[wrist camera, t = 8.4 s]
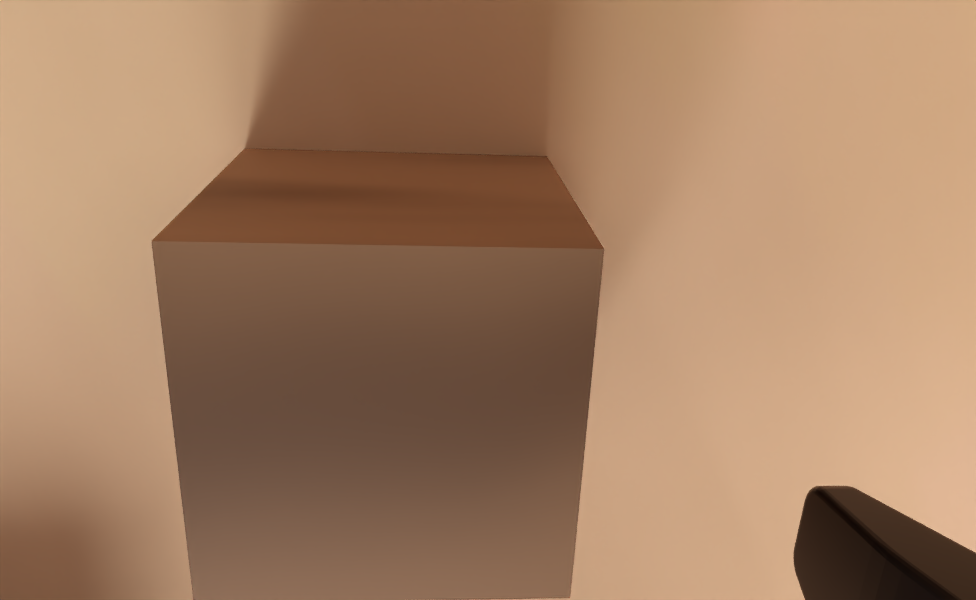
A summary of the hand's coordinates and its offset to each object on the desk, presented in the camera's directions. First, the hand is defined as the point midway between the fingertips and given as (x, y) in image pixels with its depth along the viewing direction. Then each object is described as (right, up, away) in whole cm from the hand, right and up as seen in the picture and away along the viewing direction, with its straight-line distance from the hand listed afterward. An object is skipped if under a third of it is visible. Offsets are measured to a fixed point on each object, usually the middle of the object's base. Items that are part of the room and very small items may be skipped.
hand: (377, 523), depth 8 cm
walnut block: (0, +2, +6) cm, 7 cm away
